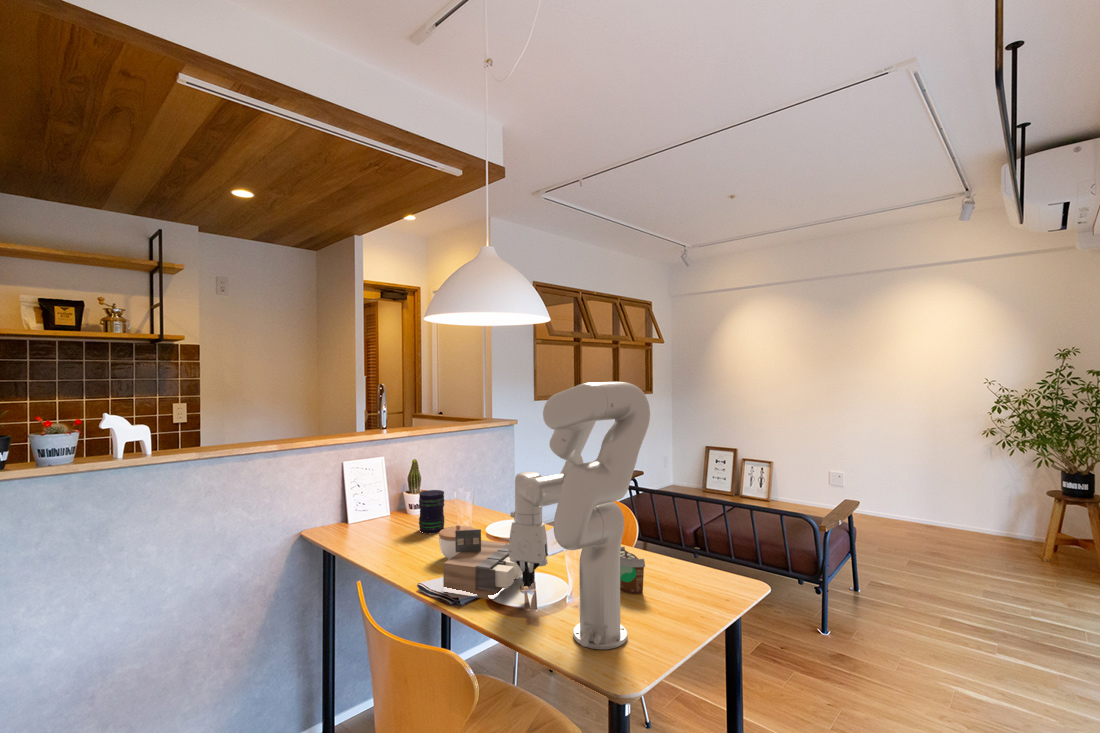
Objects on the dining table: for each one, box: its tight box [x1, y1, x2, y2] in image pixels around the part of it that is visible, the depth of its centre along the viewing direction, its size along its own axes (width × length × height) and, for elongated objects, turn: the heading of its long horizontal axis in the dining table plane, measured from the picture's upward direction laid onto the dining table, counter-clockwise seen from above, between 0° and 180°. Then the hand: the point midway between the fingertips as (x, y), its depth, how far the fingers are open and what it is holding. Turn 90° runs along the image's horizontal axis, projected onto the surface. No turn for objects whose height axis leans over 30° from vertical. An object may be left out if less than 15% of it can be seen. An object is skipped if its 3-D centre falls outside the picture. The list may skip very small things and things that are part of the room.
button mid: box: [503, 557, 522, 580], centre depth 153 cm, size 4×5×4 cm
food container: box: [620, 546, 646, 595], centre depth 150 cm, size 12×6×10 cm, turn 21°
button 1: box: [493, 565, 515, 589], centre depth 146 cm, size 4×5×4 cm
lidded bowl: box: [438, 524, 477, 561], centre depth 176 cm, size 13×13×11 cm
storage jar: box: [418, 489, 445, 534], centre depth 208 cm, size 10×10×15 cm
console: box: [442, 528, 509, 600], centre depth 156 cm, size 22×17×15 cm
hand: (528, 584), depth 144 cm, fingers closed
